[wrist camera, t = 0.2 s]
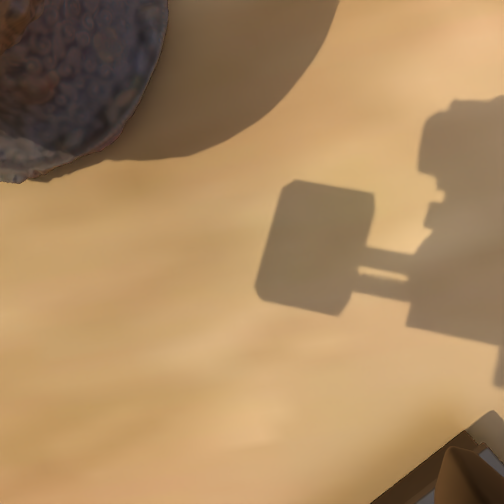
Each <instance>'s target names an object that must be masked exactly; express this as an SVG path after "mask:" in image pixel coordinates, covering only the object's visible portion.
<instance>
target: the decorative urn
mask: <svg viewBox="0 0 504 504" xmlns="http://www.w3.org/2000/svg"><path fill="white" fill-rule="evenodd" d="M168 12H169V11H168V0H0V182H2V181H3V182H7V183H17V184H20V183H22V182H24V181H25V180H26V179H27V178H36V177H38V176H39V175H40V174H43V175H46V174H47V173H48V172H49V171H51V170H53V169H54V168H56V167H59V166H62V165H64V164H68V163H72V162H73V161H74V160H75V159H76V158H78V157H81V156H84V155H89V154H91V153H94V152H99V151H102V150H103V148H105V147H106V146H108V145H110V144H112V143H113V142H114V141H115V140H116V139H117V138H118V137H119V136H120V134H121V133H122V131H123V128H124V126H125V124H126V122H127V121H128V119H129V118H130V117H131V116H132V115H133V114H134V112H135V109H136V108H137V106H138V105H139V103H140V100H141V98H142V96H143V93H144V92H145V90H146V87H147V85H148V83H149V81H150V78H151V75H152V74H153V72H154V69H155V67H156V65H157V62H158V60H159V57H160V54H161V52H162V47H163V42H164V38H165V35H166V30H167V25H168Z"/></svg>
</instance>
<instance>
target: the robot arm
mask: <svg viewBox="0 0 504 504" xmlns="http://www.w3.org/2000/svg"><path fill="white" fill-rule="evenodd" d="M434 504H504V477H503V476H502V475H500V474H499V473H498V472H497V471H496V470H495V469H494V468H492V467H491V466H490V465H489V464H488V463H487V462H486V461H484V460H483V459H482V458H481V457H480V456H479V455H478V454H476V453H475V452H473V451H471V450H467V449H463V448H459V447H455V446H451V447H449V448H448V449H447V450H446V452H445V455H444V458H443V462H442V465H441V469H440V472H439V476H438V479H437V482H436V486H435V493H434Z"/></svg>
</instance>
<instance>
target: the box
mask: <svg viewBox="0 0 504 504" xmlns="http://www.w3.org/2000/svg"><path fill="white" fill-rule="evenodd" d="M451 446H455V447H459V448H463V449H467V450H471V451H473V452H475V453H476V454H478V455H479V456H480V457H481V458H482V459H483V460H484V461H486V462H487V463H488V464H489V465H490V466H491V467H492V468H494V469H495V470H496V471H497V472H498V473H499V474H500V475H502V476H503V477H504V464H503V463H502V462H501V461H500V460H499V459H498V458H497V456H496V455H495V454H494V453H493V452H492V451H491V450H490V449H489V447H488V446H487V445H486V444H485V443H482V444H480V445H479V446H478V444H477V443H476V442H475V441H474V440H473V439H472V438H471V436H470V435H469V434H468V433H467V432H466V431H463V432H462V433H460V434H459V435H458V436H457V437H455V438H454V439H453V440H452V441H450V442H449V443H448V444H446V445H445V446H444V447H443V448H441V449H440V450H439V451H438V452H436V453H435V454H434V455H432V456H431V457H430V458H429V459H427V460H426V461H425V462H424V463H422V464H421V465H420V466H418V467H417V468H416V469H415V470H413V471H412V472H411V473H410V474H408V475H407V476H406V477H404V478H403V479H402V480H401V481H399V482H398V483H397V484H396V485H394V486H393V487H392V488H390V489H389V490H388V491H387V492H385V493H384V494H383V495H382V496H380V497H379V498H378V499H376V500H375V501H374V502H373V503H371V504H434V493H435V486H436V482H437V479H438V476H439V472H440V469H441V465H442V462H443V458H444V455H445V452H446V450H447V449H448V448H449V447H451Z"/></svg>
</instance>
